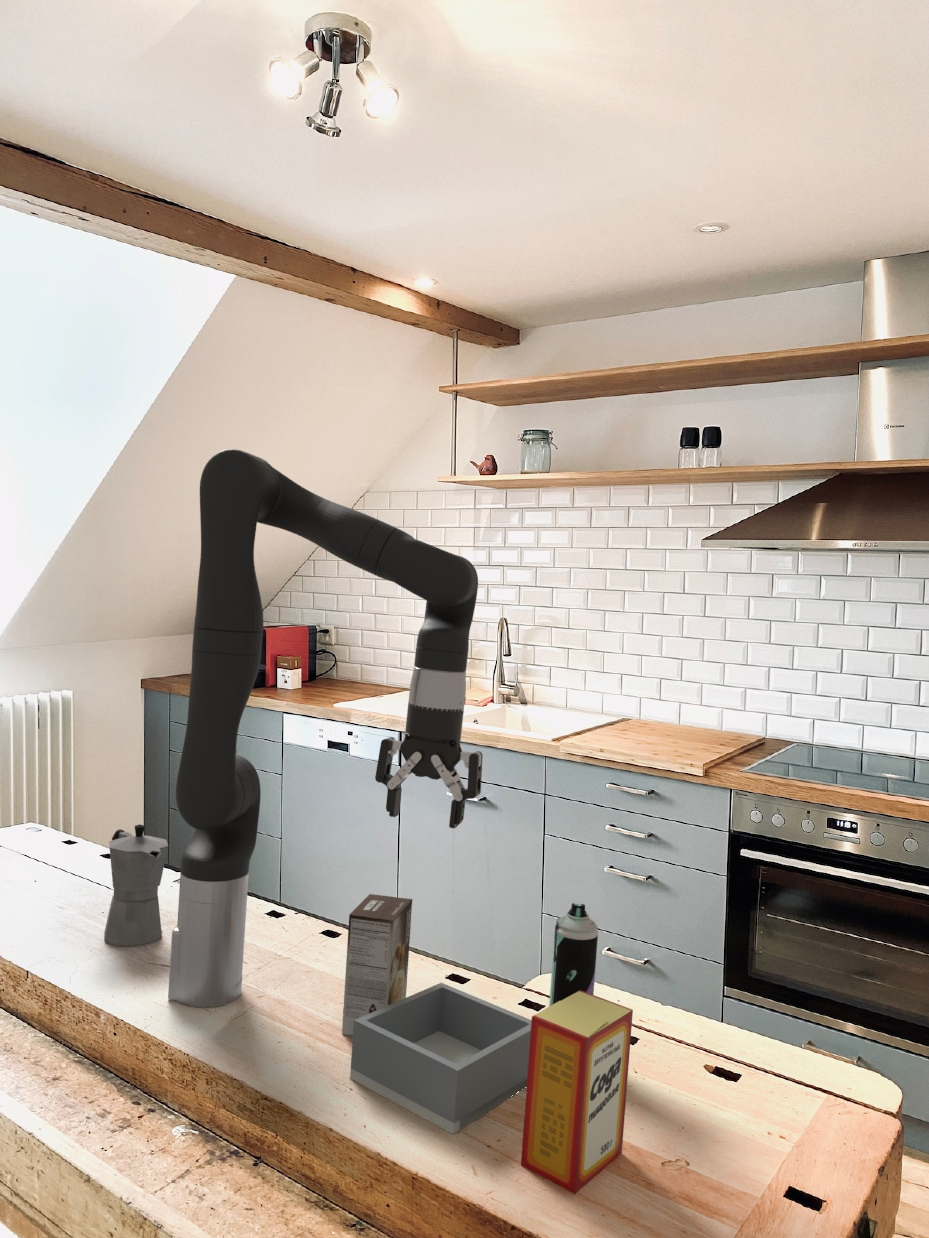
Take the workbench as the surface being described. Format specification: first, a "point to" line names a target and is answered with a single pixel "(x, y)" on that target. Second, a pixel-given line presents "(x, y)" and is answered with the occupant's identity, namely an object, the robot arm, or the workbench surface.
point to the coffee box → (376, 956)
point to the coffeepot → (135, 888)
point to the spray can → (573, 954)
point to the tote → (442, 1055)
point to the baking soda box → (576, 1089)
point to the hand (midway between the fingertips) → (423, 821)
